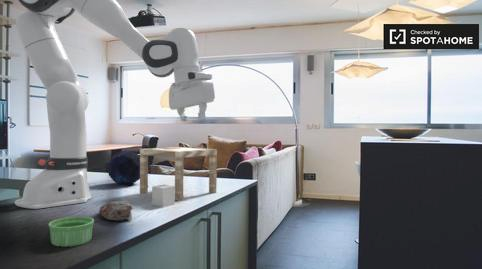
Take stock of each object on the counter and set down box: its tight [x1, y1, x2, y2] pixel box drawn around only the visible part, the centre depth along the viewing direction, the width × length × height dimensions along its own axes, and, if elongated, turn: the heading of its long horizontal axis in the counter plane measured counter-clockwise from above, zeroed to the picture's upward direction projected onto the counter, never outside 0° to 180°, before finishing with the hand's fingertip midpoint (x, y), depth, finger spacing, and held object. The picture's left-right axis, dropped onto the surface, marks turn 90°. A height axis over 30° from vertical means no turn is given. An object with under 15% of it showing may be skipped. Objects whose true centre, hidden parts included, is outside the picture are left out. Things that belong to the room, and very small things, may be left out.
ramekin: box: [48, 215, 95, 248], centre depth 79 cm, size 9×9×4 cm
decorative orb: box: [107, 150, 140, 186], centre depth 153 cm, size 14×15×15 cm
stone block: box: [151, 184, 176, 208], centre depth 115 cm, size 5×5×6 cm
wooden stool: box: [139, 146, 218, 202], centre depth 135 cm, size 20×20×16 cm
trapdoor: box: [153, 147, 207, 151], centre depth 135 cm, size 14×14×1 cm
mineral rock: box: [98, 199, 133, 222], centre depth 99 cm, size 15×8×4 cm, turn 25°
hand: (192, 120), depth 119 cm, fingers open, 8 cm apart
